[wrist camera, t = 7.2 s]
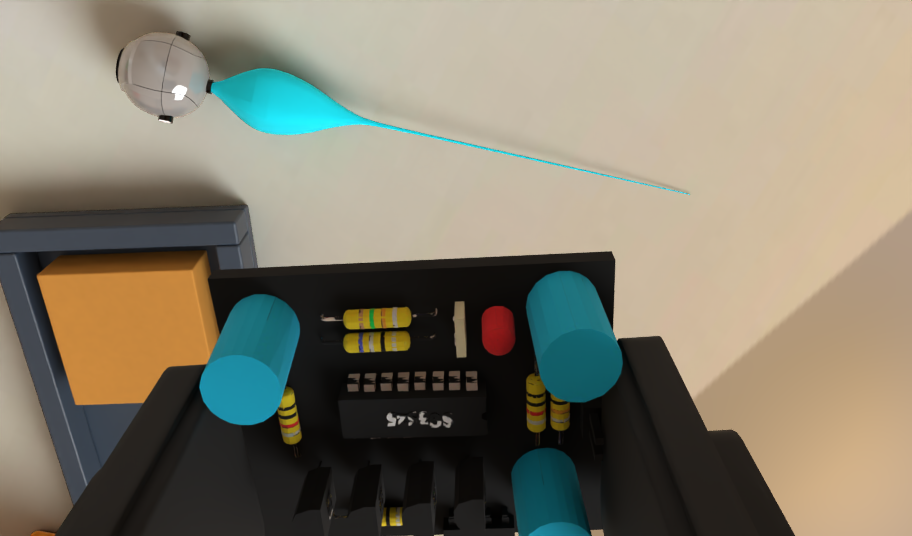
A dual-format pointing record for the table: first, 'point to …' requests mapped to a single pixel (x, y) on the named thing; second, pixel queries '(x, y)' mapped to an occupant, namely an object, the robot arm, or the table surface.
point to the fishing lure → (234, 91)
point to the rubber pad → (128, 319)
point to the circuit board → (420, 392)
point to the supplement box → (42, 533)
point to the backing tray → (99, 232)
